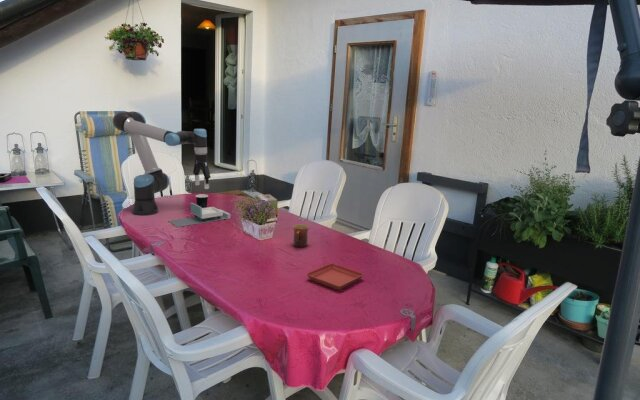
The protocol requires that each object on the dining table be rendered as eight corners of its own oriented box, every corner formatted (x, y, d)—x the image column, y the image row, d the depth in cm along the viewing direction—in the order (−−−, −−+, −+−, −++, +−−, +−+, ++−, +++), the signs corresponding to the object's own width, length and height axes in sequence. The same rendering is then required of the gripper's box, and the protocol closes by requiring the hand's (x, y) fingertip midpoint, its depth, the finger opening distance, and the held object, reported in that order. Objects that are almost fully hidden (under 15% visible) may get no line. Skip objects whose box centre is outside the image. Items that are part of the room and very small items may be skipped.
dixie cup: (202, 214, 275) (201, 197, 272) (193, 212, 279) (192, 195, 276) (211, 211, 282) (210, 195, 279) (202, 209, 285) (201, 193, 283)
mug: (294, 241, 231) (294, 223, 228) (310, 243, 229) (311, 225, 227) (288, 249, 219) (288, 230, 217) (305, 251, 218) (305, 231, 215)
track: (167, 221, 257) (167, 216, 256) (220, 213, 279) (219, 209, 278) (177, 227, 247) (177, 222, 246) (230, 218, 268) (230, 214, 268)
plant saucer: (331, 269, 197) (331, 262, 197) (364, 280, 186) (364, 273, 186) (305, 281, 184) (305, 273, 183) (339, 294, 173) (339, 286, 172)
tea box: (254, 217, 273) (254, 194, 270) (270, 216, 277) (270, 193, 274) (262, 224, 260) (262, 200, 257) (277, 222, 264) (278, 199, 261)
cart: (190, 216, 266) (190, 202, 264) (212, 213, 275) (212, 199, 273) (200, 222, 256) (200, 207, 254) (222, 218, 265) (222, 204, 263)
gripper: (186, 151, 278) (188, 184, 283) (204, 156, 260) (205, 191, 265) (197, 151, 283) (199, 183, 288) (215, 155, 264) (216, 189, 269)
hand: (201, 186), depth 276 cm, fingers open, 13 cm apart
